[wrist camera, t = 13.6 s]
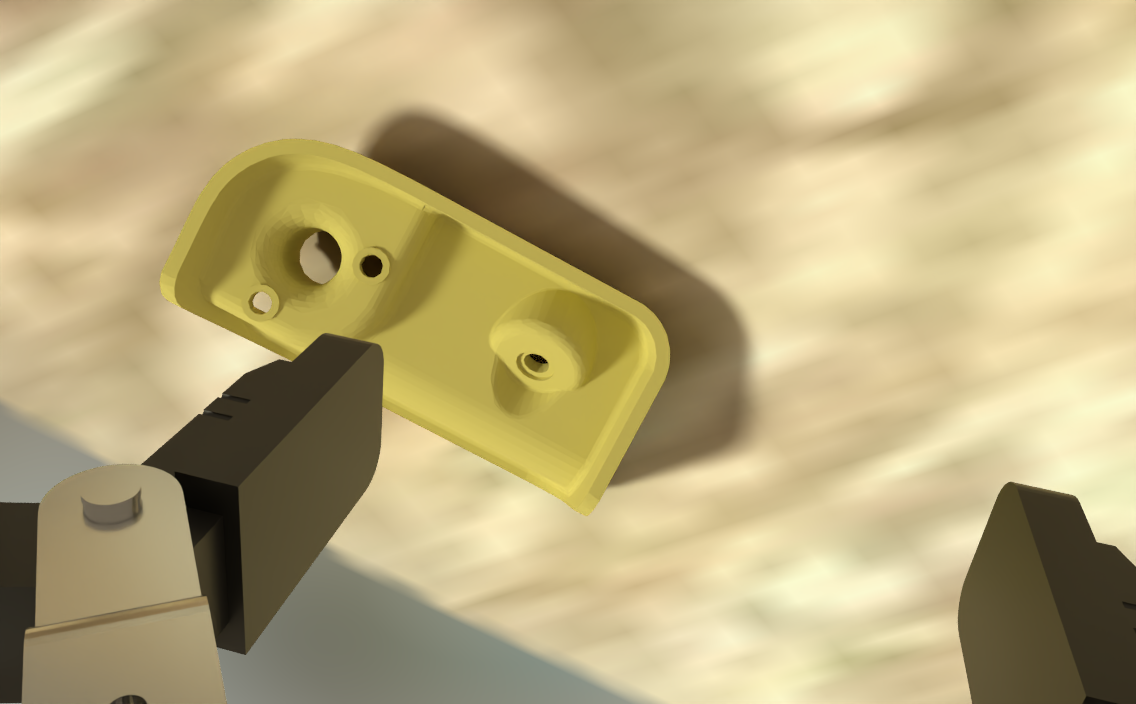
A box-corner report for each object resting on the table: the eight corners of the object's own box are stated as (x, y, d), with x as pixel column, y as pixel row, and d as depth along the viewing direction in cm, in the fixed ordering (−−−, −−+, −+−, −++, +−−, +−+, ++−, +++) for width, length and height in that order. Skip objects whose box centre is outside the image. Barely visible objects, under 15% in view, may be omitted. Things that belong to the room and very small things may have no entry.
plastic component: (692, 330, 40) (576, 543, 41) (664, 320, 47) (566, 500, 48) (251, 92, 38) (136, 317, 39) (293, 120, 46) (196, 310, 46)
